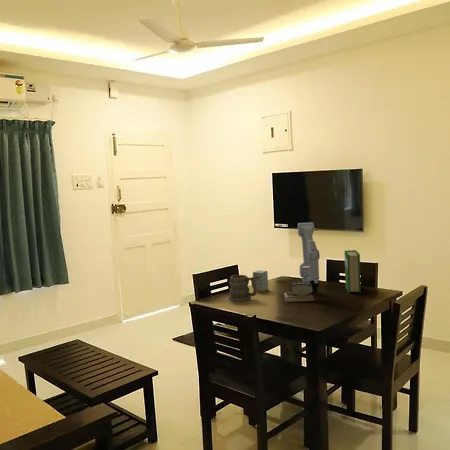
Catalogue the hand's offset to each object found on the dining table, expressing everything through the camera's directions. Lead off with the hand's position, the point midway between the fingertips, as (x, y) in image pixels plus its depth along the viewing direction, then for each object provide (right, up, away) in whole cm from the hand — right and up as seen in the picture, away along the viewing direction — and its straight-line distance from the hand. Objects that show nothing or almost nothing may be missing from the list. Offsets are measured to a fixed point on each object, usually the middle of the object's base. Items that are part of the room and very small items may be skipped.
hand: (314, 292), depth 290 cm
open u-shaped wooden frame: (-9, -4, +1) cm, 10 cm away
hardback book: (+28, -1, +17) cm, 33 cm away
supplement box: (-30, -3, +29) cm, 42 cm away
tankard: (-41, -5, +8) cm, 42 cm away
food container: (-7, -4, +1) cm, 9 cm away
